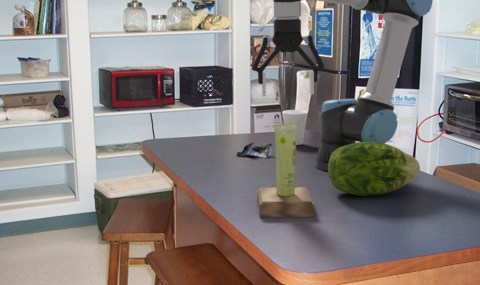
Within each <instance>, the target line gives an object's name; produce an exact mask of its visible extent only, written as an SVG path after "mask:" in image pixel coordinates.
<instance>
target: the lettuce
mask: <svg viewBox="0 0 480 285" xmlns="http://www.w3.org/2000/svg"><path fill="white" fill-rule="evenodd" d="M420 167H421V166H420V162H419V161H418V160H417V158H415V157H414V156H413V155H411V154H410V153H409V154H408V153H407V152H404V151H402V150H401V149H399V148H398V147H395V146H393V145H390V144H386V143H385V144H383V143H375V142H358V141H356V143H353V144H349V145H346V146H343V147H340V148H338V149H337V150H335V151H334V152H333V153H332V155H331V157H330V160H329V164H328V171H327V172H328V173H327V174H328V178H329V179H330V181H331V184H332V186H333V187H335V188H336V189H337V190H338V191H340V192H343V193H346V194H351V195H354V196H361V197H364V196H365V197H366V196H367V197H368V196H369V197H370V196H379V195H385V194H388V193H391V192H393V191H396V190H398V189H400V188H402V187H403V186H405V185H407V184H410V183H412V182H413V181H414V180H415V179H416V178H417V177H419V175H420V172H421V168H420Z"/></svg>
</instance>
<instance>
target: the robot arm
mask: <svg viewBox="0 0 480 285" xmlns="http://www.w3.org/2000/svg"><path fill="white" fill-rule="evenodd" d="M316 1H319V2H325V3H331V4H339V5H346V6H350V7H351V8H352V9H354V10H359V11H363V12H369V13H373V14H375V15H381V17H382V19H383V20H384V25H383V27H382V32H381V34H380V39H379V43H378V45H377V49H376V53H375V55H374V60H373V63H372V67H371V69H370V70H371V71H370V74H369V77H368V81H367V84H366V87H365V92H364V94H362V95H360V96H359V97H358V98H357V99H356V98H342V99H341V98H340V99H330V100H326V101H324V102H322V104H321V105H322V106H321V113H320V114H321V115H320V117H321V118H320V119H321V121H320V124H321V125H320V130H321V131H320V146H319V149H318V151H317V154H316V157H315V162H314V163H315V164H314V166H315V167H316V168H317V169H319V170H323V171H326V172H328V164H329V160H330V157H331V155H332V153H333V152H334V151H335V150H337V149H338V148H340V147H343V146H346V145H349V144H353V143H357V142H375V143H383V144H386V143H387V142H389V141H391V139H392V138H393V137H394V135H395V133H396V131H397V128H398V122H399V121H398V120H397V119H398V117H397V114H396V113H395V112H394V109H395V105H394V103H393V102H392V98H393V95H394V92H395V88H396V85H397V81H398V78H399V75H400V71H401V68H402V65H403V60H404V57H405V53H406V49H407V46H408V43H409V41H410V36H411V33H412V31H413V30H412V29H413V28H414V27H416V26H418V25H419V22H420V18H421V17H424V16H426V15H427V14H428V13H429V12H430V11H431V10H432V7H433V0H316ZM301 5H302V0H273V17H274V18H275V19H273V36H272V37H268V36H263V37H262V41H261V46H260V48H259V50H258V52H257V54H256V57H255V59H254V61H253V63H252V65H251V70H252V71H253V72H257V82H258V84H259V85H261V93H262V94H261V95H262V97H266V96H267V86H266V85H267V84H266V83H267V82H266V78H267V77H266V72H265V70H266V68H268V66H269V65H270V63H271V62H272V61H273V59H275V57H276V56H277V55H278V53H279V52H280V53H282V54H283V53H294V52H297V53H298V54H299V55H300V56H301V57H302V59H303V60H304V61H305V62H306V64H308V66H309V67H310V70H309V94H310V95H315V83H317V82H318V73H319V72H318V71H319V70H321V69H324V68H325V64H324V63H323V60H322V58H321V56H320V54H319V53H318V51H317V48H316V47H315V44H314V39H313V38H314V37H313V35H311V34H308V35H305V36H303V35H302V20H301V18H300V17H301V16H302V6H301ZM303 41H304V44H306V45H308V48H309V50H310V51H311V54H312V56H313V58H314V60H315V62H316V64H315V63H314V62H313V61H312V59H311V58H310V56H308V54H306V52H304V50H303V49H302V47H301V46H300V45H301V44H302V43H303ZM271 42H272V43H273V44H274V46H275V47H274V48H273V49H272V50H271V52H269V54H268V56H267V57H266V58H265V59H264V60H263V62H262V63H261V64H260V62H261V60H262V58H263V56H264V53H265V52H266V49H267V46H269V45H270V44H271Z"/></svg>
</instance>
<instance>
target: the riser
mask: <svg viewBox="0 0 480 285" xmlns="http://www.w3.org/2000/svg"><path fill="white" fill-rule="evenodd" d="M256 190H257V193H256V194H257V196H256V197H257V199H256V200H257V208H258V213H259V214H258V215H259V218H313V217H314V215H315V214H314V213H315V212H314V211H315V203H314V201H313V198H312V196H311V194H310V192H309V190H308V188H306V187H300V186H299V187H295V193H294V195H291V196H280V195H277V194H276V187H259V188H257V189H256Z"/></svg>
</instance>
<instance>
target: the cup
mask: <svg viewBox="0 0 480 285" xmlns="http://www.w3.org/2000/svg"><path fill="white" fill-rule="evenodd" d="M308 116H309V115H308V111H306V110H303V109H302V110H301V109H287V110H283V111H282V117H283V124H284V123H290V122H298V125H297V139H296V146H300V145H303V142H304V137H305V136H304V135H305V130H306V125H307V124H306V123H307V118H308Z"/></svg>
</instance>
